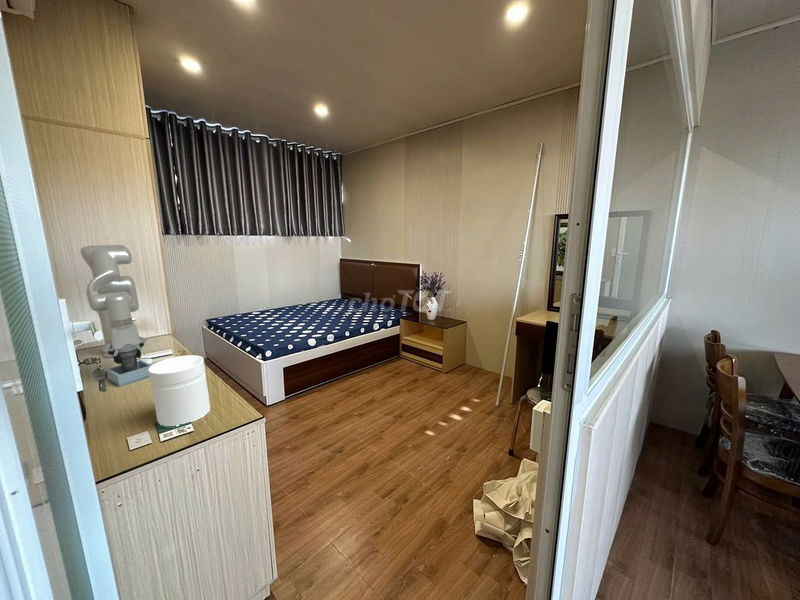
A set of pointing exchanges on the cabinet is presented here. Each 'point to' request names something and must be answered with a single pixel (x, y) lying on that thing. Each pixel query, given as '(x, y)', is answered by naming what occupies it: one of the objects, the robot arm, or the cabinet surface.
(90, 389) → the cabinet surface
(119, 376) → the bin
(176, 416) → the canister
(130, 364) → the beverage cup
